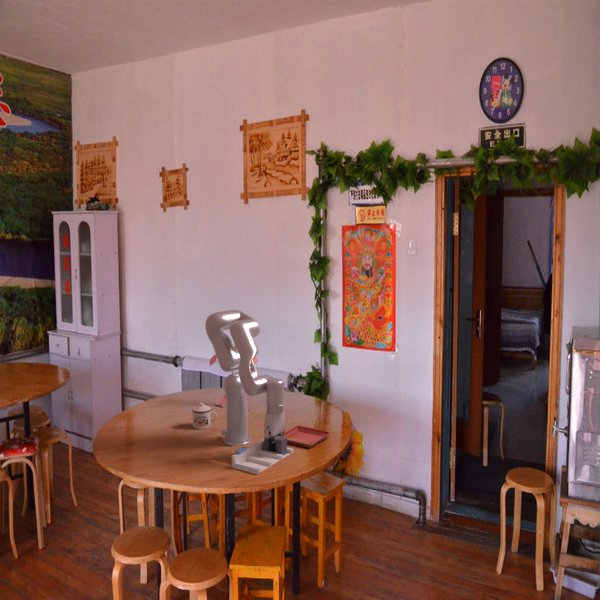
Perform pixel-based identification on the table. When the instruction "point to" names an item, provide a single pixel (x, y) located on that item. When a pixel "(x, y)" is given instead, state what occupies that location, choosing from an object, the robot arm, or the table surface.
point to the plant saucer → (305, 435)
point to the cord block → (277, 445)
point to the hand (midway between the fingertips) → (275, 448)
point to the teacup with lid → (202, 416)
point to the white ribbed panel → (256, 458)
